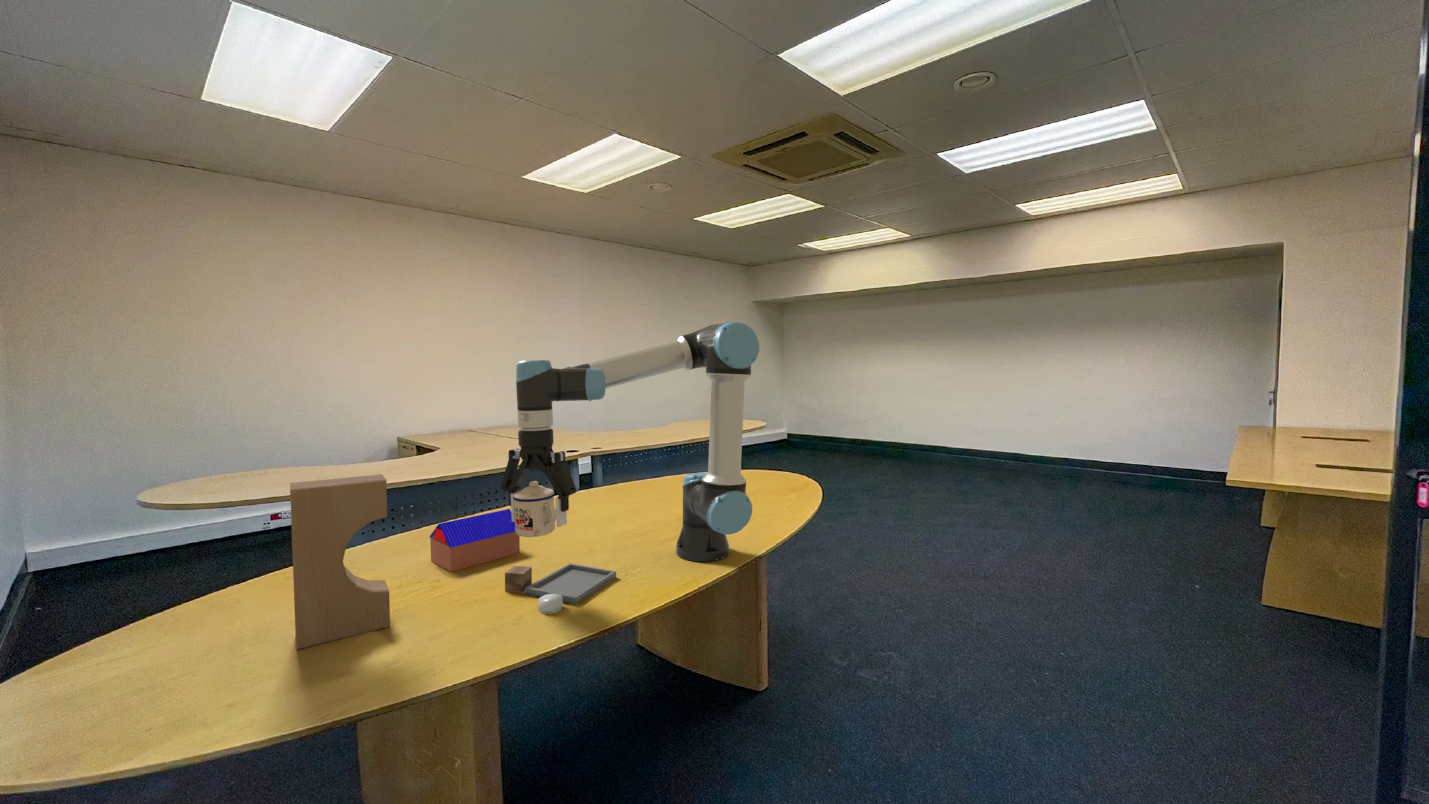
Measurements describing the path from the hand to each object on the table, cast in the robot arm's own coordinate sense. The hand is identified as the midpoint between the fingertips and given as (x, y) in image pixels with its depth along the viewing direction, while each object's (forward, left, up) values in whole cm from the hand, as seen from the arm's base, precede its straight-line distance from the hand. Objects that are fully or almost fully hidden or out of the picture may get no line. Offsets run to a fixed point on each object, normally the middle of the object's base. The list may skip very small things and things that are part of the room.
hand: (539, 522), depth 123 cm
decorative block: (+24, +28, -17) cm, 41 cm away
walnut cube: (+7, -2, -17) cm, 19 cm away
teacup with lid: (0, 0, -3) cm, 3 cm away
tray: (-4, -8, -17) cm, 19 cm away
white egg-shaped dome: (-7, +4, -17) cm, 19 cm away
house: (+32, -14, -18) cm, 39 cm away
